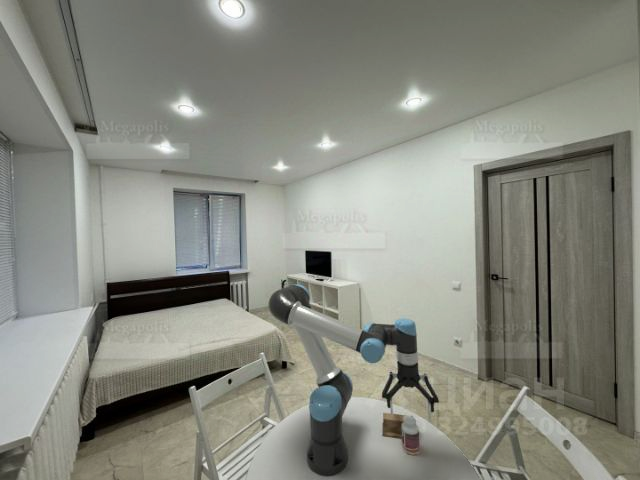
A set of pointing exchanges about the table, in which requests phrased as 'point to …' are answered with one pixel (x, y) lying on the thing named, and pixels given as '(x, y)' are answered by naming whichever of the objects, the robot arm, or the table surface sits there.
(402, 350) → the robot arm
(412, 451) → the pill bottle
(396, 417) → the brown wooden block
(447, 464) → the table surface
